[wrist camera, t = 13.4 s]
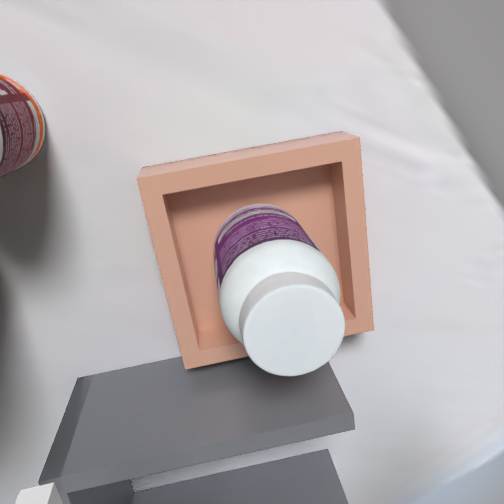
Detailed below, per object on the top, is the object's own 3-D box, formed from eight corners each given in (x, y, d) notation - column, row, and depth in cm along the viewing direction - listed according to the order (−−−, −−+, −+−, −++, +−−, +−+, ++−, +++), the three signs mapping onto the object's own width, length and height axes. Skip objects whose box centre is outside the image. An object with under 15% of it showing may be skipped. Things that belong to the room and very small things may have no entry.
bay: (123, 505, 33) (103, 631, 25) (77, 378, 29) (38, 482, 21) (329, 459, 34) (368, 567, 26) (312, 329, 30) (353, 412, 22)
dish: (185, 341, 29) (185, 369, 26) (142, 167, 25) (136, 178, 22) (356, 306, 29) (373, 330, 27) (341, 131, 25) (359, 137, 23)
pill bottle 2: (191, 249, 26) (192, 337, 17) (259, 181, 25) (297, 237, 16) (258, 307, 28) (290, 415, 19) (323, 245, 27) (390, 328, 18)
